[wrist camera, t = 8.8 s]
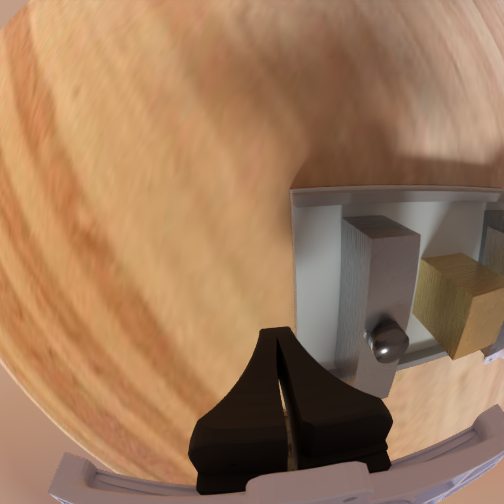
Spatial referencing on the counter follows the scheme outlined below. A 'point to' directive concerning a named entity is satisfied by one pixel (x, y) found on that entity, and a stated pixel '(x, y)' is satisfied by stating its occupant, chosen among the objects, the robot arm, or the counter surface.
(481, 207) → the board
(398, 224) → the bar
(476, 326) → the block
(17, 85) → the counter surface
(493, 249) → the fixed jaw
